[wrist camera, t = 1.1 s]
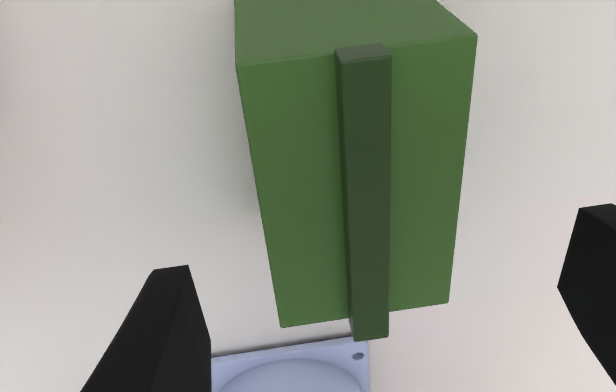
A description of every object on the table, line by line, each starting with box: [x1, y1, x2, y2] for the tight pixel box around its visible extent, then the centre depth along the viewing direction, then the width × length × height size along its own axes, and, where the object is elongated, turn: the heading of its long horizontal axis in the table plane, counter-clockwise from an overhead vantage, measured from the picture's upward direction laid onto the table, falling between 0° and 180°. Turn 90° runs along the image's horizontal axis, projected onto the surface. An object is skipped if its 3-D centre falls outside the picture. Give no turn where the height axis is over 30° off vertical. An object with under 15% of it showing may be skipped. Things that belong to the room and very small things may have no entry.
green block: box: [234, 0, 478, 342], centre depth 15 cm, size 8×5×6 cm, turn 5°
